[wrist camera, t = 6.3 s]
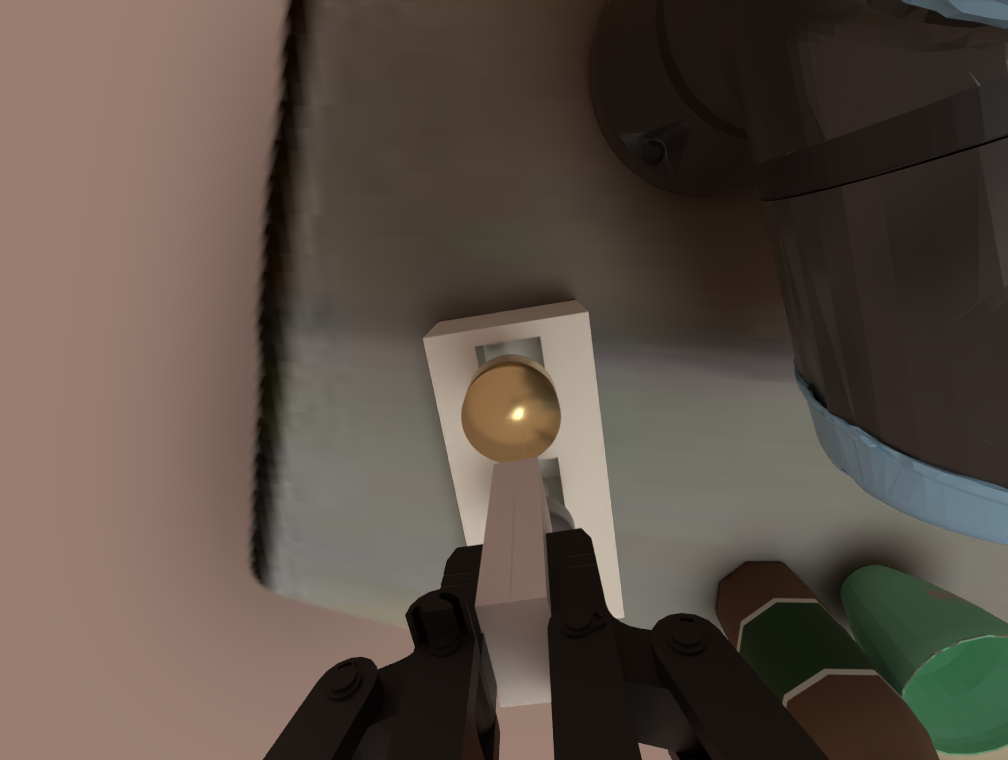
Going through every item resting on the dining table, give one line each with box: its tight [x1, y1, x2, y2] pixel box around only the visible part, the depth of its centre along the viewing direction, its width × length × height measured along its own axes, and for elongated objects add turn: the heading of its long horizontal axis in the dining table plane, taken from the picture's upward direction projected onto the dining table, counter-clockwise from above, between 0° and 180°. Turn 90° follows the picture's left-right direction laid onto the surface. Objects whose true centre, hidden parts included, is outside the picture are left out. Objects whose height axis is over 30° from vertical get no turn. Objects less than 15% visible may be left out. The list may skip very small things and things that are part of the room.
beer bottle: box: [716, 562, 939, 760], centre depth 29 cm, size 8×8×24 cm
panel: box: [423, 300, 624, 619], centre depth 35 cm, size 22×10×6 cm, turn 9°
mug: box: [840, 565, 1008, 755], centre depth 36 cm, size 15×10×10 cm
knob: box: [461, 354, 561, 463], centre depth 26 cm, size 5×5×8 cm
